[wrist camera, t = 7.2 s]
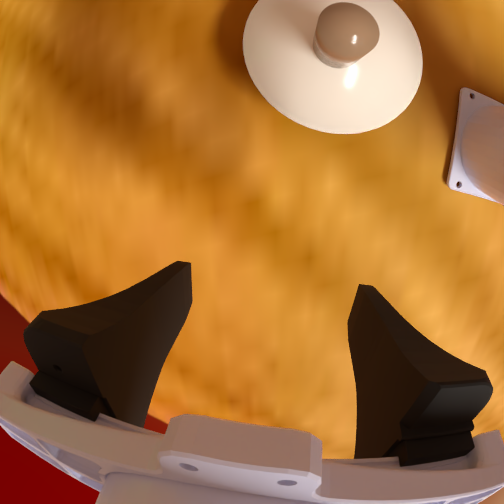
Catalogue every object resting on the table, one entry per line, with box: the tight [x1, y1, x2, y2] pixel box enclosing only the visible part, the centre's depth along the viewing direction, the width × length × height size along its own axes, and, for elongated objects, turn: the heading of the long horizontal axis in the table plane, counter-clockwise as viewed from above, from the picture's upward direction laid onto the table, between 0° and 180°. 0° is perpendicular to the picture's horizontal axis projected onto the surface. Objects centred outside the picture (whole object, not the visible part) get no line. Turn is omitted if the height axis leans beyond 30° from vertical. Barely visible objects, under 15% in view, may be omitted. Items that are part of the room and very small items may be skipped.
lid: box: [243, 0, 423, 134], centre depth 11 cm, size 10×10×5 cm
